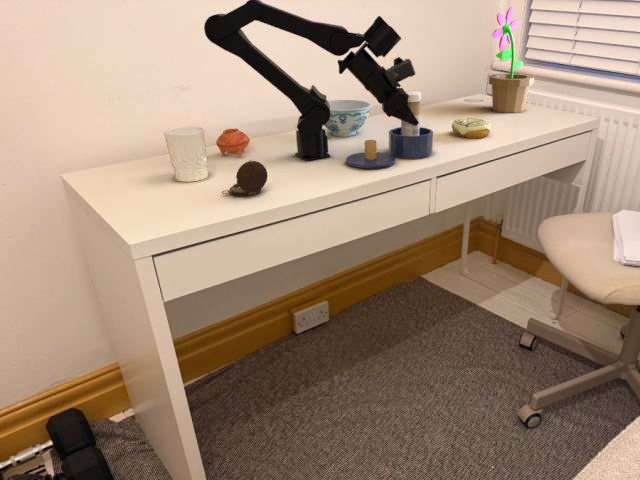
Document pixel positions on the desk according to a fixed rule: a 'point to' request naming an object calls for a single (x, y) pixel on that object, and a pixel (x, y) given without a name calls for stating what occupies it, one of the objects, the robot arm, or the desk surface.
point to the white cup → (187, 152)
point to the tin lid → (370, 157)
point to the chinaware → (347, 116)
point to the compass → (249, 179)
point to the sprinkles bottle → (414, 105)
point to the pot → (232, 141)
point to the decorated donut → (471, 127)
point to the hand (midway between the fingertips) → (416, 122)
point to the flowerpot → (510, 87)
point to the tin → (411, 144)
